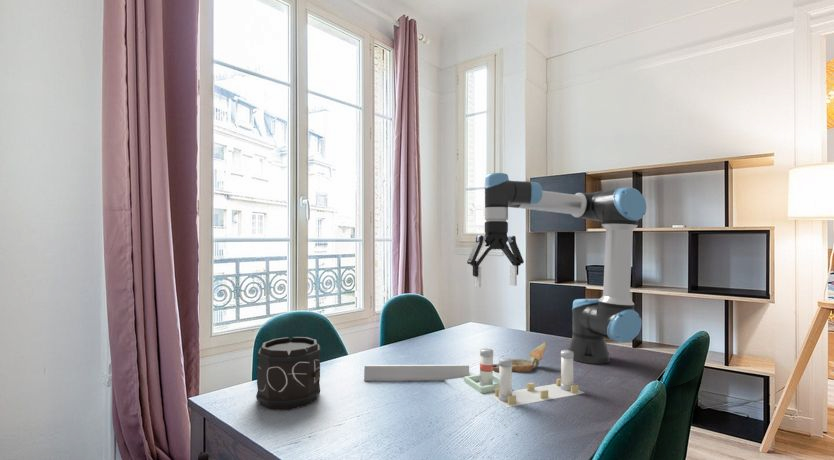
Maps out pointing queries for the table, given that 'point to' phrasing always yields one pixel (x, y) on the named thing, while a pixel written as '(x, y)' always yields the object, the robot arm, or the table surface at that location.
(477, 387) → the tray
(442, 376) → the decorative molding
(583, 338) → the robot arm
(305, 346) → the coffee canister
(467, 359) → the table surface
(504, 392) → the cylinder
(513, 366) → the oil lamp
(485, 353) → the marked fuse
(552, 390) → the fuse block
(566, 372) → the fuse
